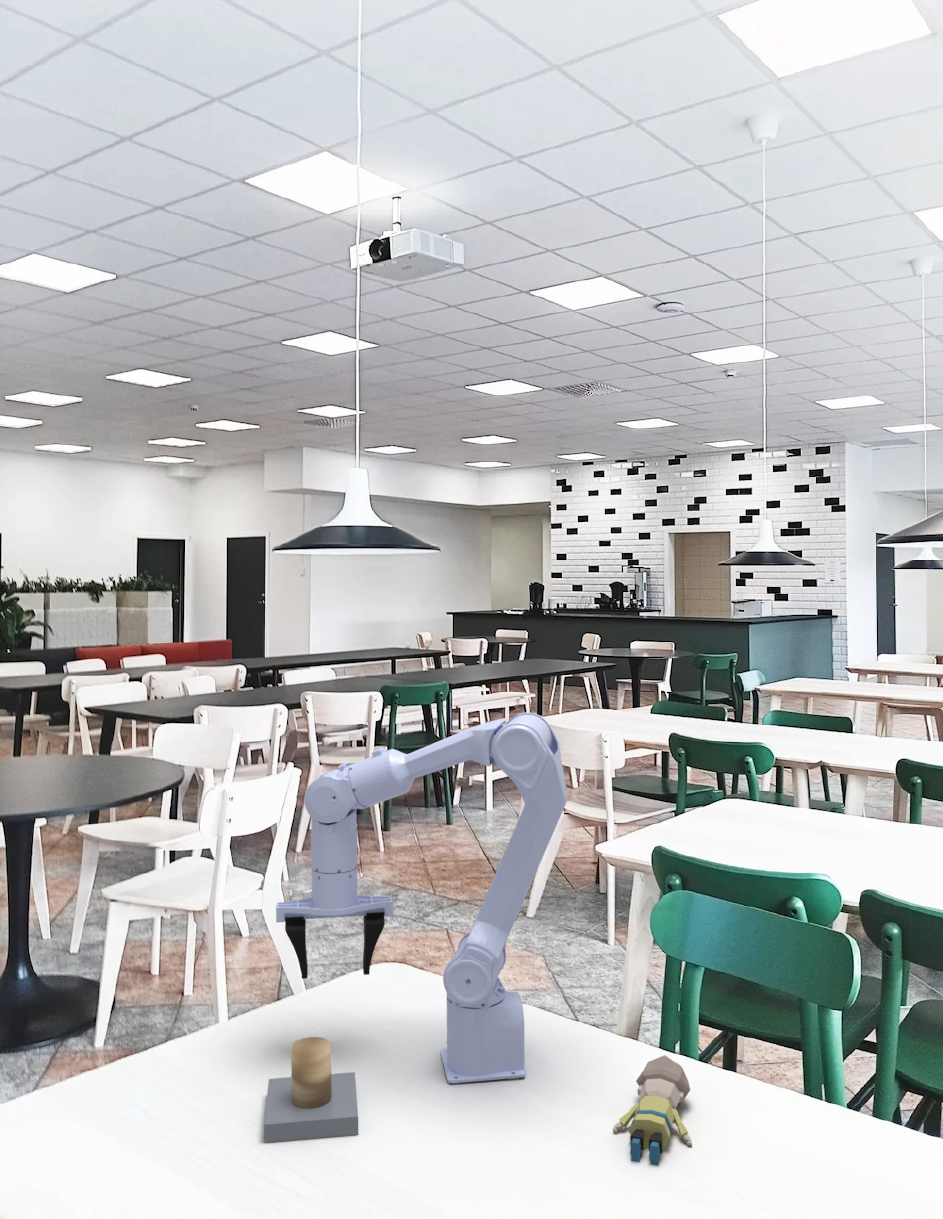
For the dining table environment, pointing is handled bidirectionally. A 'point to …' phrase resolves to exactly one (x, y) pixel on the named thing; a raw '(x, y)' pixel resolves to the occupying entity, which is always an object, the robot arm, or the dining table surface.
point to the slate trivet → (311, 1112)
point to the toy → (656, 1108)
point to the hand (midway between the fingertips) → (335, 973)
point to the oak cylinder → (311, 1072)
